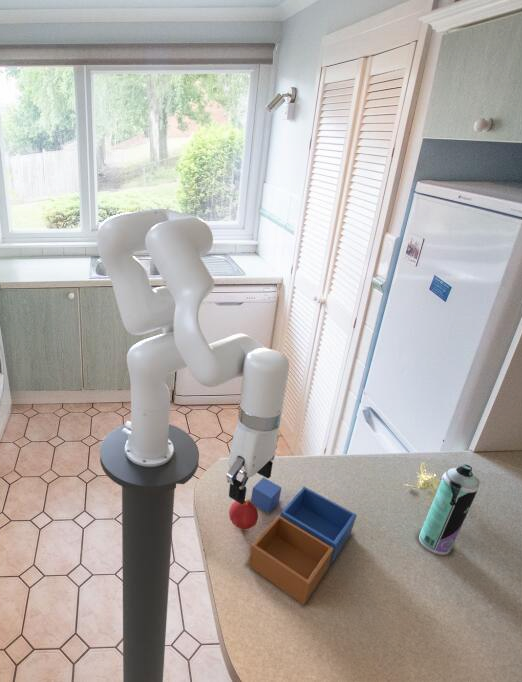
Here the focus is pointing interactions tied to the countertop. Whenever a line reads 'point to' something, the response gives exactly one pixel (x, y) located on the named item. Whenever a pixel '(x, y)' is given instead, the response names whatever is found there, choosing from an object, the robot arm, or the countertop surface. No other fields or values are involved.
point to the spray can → (449, 509)
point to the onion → (243, 514)
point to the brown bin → (290, 558)
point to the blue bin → (320, 518)
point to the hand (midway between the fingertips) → (250, 486)
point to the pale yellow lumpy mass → (427, 481)
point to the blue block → (265, 495)
